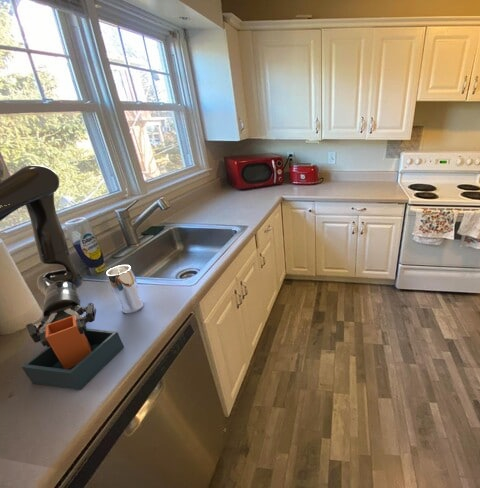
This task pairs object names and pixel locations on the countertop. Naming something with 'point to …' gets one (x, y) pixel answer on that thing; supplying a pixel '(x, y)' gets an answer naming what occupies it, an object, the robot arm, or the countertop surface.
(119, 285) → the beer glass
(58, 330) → the small bin
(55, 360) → the big bin
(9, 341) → the countertop surface
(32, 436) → the countertop surface
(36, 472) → the countertop surface
